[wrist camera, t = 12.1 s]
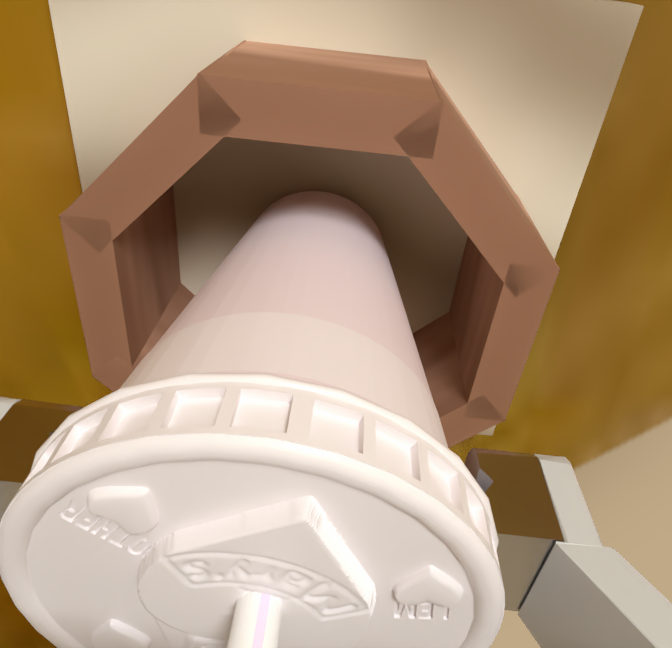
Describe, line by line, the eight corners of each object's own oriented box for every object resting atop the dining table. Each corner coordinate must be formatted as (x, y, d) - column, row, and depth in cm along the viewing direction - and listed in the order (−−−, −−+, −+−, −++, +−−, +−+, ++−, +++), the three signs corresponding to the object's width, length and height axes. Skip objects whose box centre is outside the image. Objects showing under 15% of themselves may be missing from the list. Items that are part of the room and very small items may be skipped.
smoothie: (481, 192, 14) (1065, 1552, 2) (379, 377, 17) (391, 1267, 6) (229, 94, 13) (-1262, 1639, 1) (176, 311, 16) (-315, 1225, 5)
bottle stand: (487, 415, 20) (516, 536, 16) (129, 377, 20) (64, 489, 16) (626, 2, 13) (747, 28, 9) (59, -60, 13) (-94, -63, 8)
